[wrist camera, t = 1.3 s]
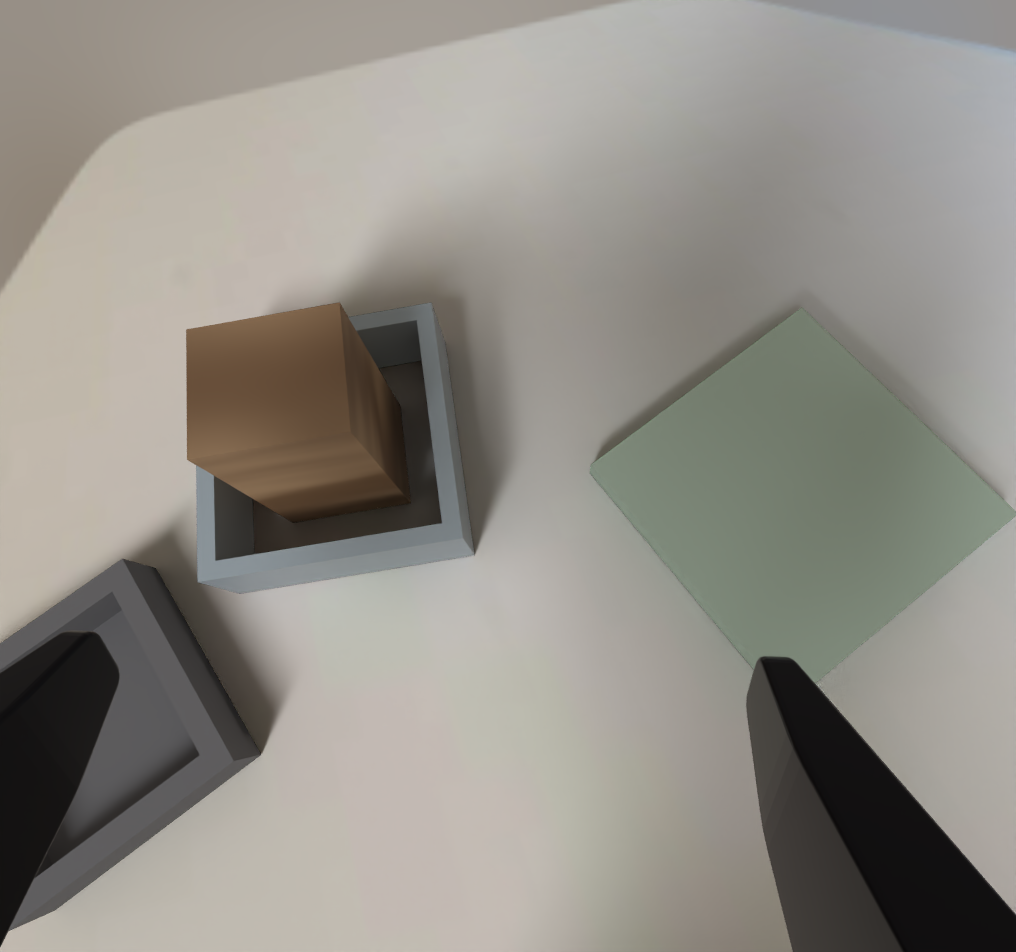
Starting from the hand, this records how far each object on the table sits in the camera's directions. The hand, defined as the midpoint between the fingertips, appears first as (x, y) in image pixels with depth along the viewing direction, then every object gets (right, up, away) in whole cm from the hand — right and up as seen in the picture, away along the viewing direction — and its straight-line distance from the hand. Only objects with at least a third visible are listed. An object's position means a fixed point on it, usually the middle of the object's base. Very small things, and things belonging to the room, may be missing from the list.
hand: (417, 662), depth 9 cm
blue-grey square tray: (-5, +3, +17) cm, 18 cm away
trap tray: (-13, -6, +14) cm, 20 cm away
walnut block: (-5, +3, +17) cm, 18 cm away
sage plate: (+11, +2, +15) cm, 19 cm away
